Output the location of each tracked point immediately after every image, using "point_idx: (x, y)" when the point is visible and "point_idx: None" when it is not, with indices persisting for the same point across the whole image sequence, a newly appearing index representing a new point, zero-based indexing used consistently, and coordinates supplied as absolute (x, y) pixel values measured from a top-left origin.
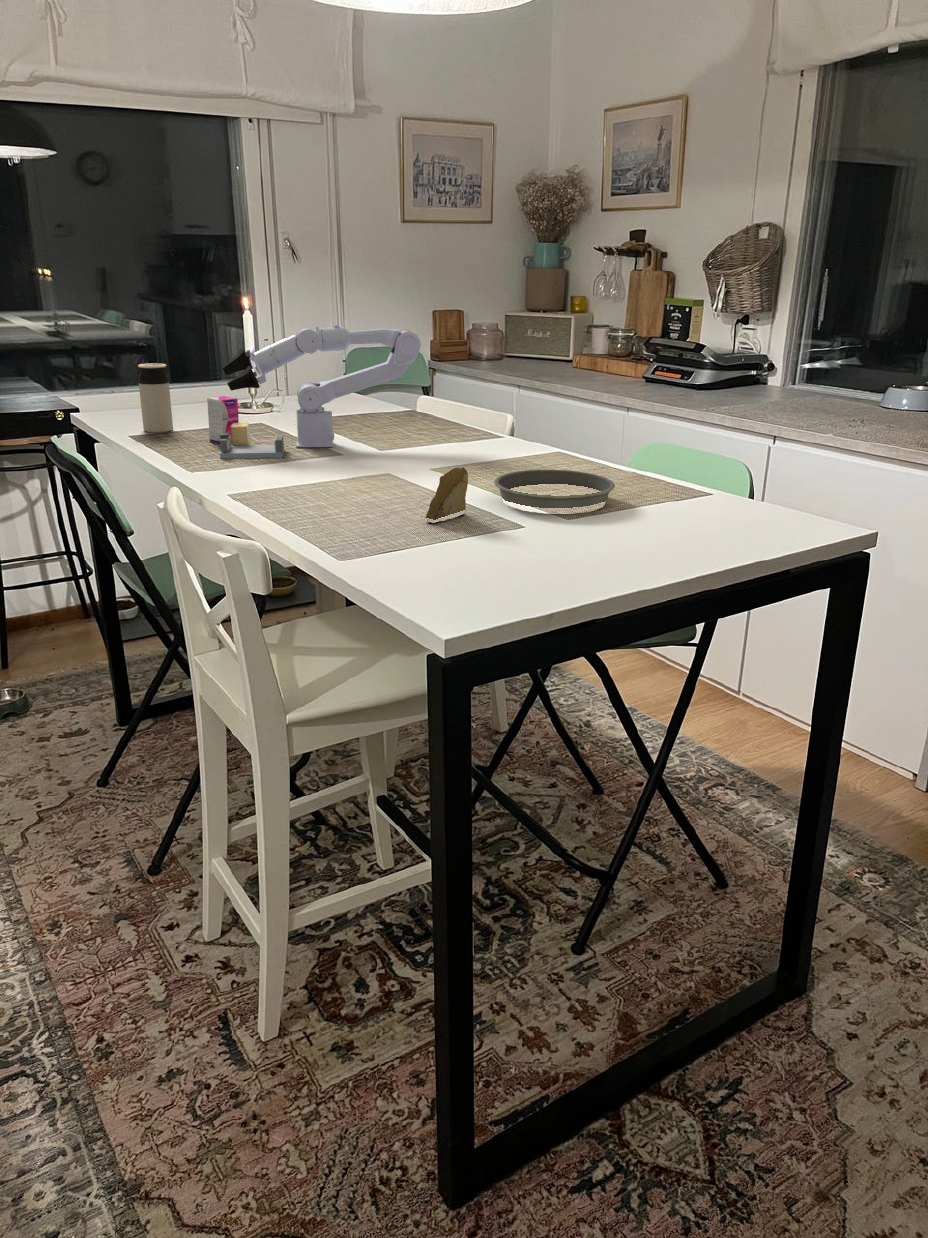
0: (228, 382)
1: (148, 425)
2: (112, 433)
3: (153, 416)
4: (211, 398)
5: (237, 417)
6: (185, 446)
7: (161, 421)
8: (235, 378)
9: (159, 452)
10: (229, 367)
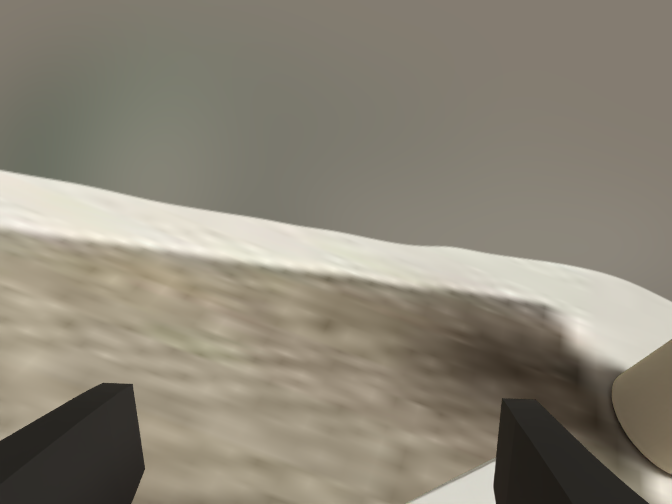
0: (111, 391)
1: (631, 367)
2: (598, 288)
3: (654, 364)
4: (490, 472)
5: None
6: (298, 389)
7: (646, 400)
8: (22, 445)
9: (216, 265)
10: (520, 489)
